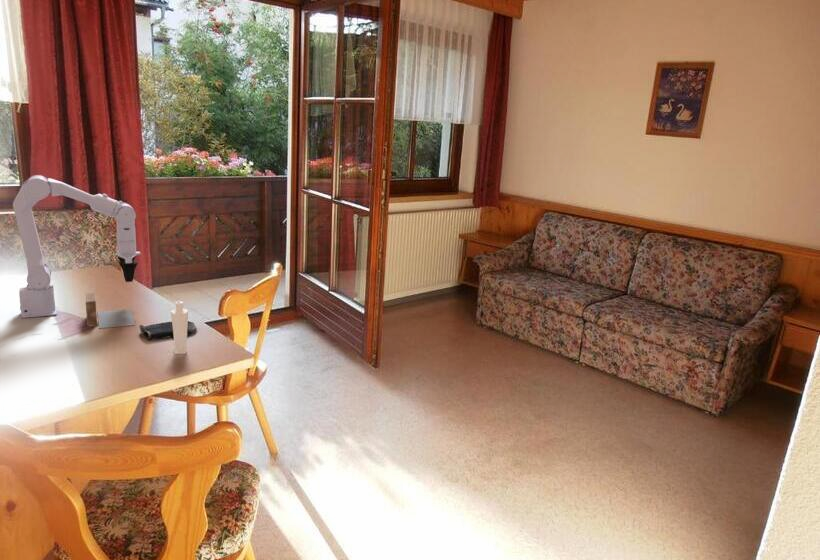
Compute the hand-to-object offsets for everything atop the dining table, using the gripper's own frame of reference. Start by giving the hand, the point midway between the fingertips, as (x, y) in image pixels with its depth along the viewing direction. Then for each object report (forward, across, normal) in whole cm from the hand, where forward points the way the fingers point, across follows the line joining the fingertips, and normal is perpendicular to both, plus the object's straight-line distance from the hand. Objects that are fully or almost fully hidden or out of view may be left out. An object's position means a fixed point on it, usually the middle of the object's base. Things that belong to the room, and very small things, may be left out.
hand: (128, 278), depth 196 cm
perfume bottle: (+10, -47, -11) cm, 49 cm away
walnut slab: (+10, -13, +12) cm, 20 cm away
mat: (+10, -13, +5) cm, 17 cm away
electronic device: (+10, -31, -10) cm, 34 cm away
